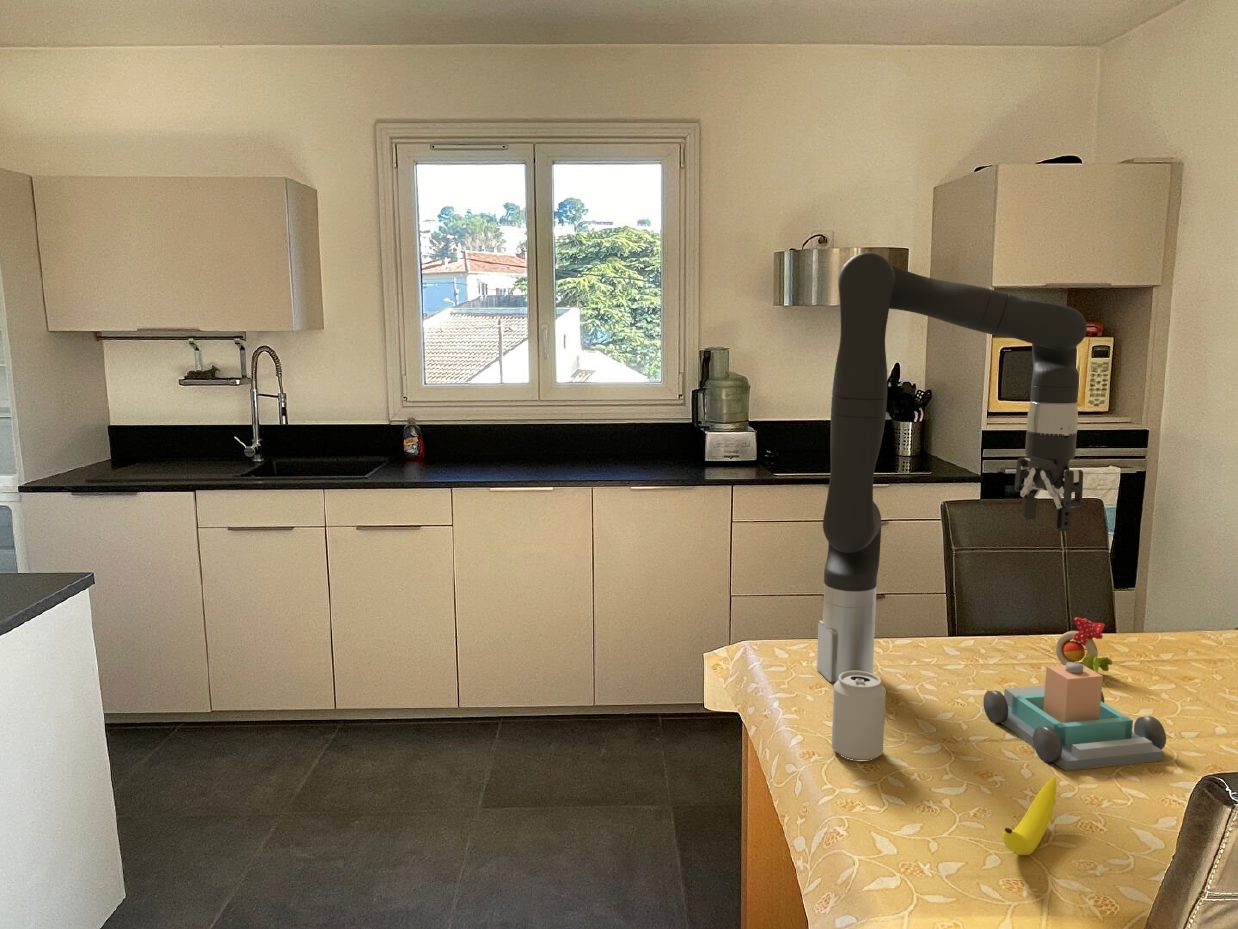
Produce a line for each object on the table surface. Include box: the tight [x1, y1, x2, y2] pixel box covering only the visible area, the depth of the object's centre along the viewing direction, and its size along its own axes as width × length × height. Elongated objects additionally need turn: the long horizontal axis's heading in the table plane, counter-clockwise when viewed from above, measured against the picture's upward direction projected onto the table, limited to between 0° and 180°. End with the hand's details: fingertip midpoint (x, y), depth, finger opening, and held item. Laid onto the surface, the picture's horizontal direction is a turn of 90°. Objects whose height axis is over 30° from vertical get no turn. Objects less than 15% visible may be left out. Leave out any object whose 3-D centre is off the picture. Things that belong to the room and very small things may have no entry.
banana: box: [1002, 776, 1057, 856], centre depth 112 cm, size 3×19×6 cm, turn 139°
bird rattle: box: [1055, 617, 1113, 674], centre depth 164 cm, size 6×11×9 cm
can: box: [831, 671, 887, 760], centre depth 134 cm, size 8×8×12 cm
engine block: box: [1043, 662, 1104, 723], centre depth 139 cm, size 6×5×10 cm
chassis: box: [983, 684, 1167, 772], centre depth 140 cm, size 18×20×5 cm
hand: (1044, 524), depth 151 cm, fingers open, 8 cm apart
